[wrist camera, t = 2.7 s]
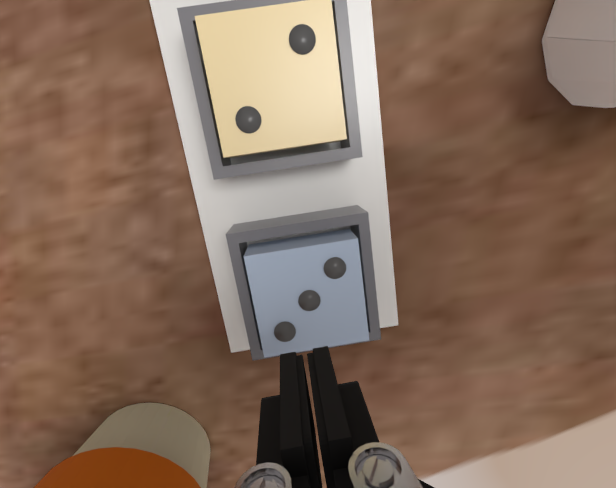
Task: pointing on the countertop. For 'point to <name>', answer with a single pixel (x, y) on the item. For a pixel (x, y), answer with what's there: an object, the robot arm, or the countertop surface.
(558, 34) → the vase
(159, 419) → the reusable coffee cup
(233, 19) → the button
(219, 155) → the button panel
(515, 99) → the countertop surface
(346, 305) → the button
